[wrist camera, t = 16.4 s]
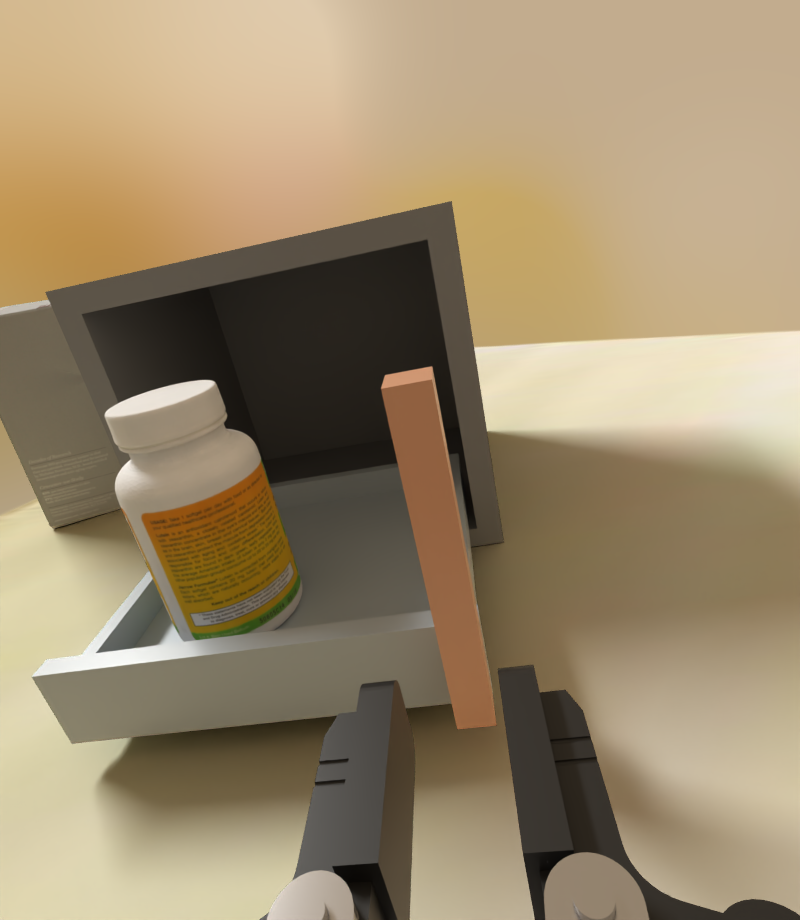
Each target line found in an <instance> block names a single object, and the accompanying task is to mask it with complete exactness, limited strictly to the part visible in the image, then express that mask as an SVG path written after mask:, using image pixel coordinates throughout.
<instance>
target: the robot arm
mask: <svg viewBox="0 0 800 920" xmlns="http://www.w3.org/2000/svg"><path fill="white" fill-rule="evenodd" d="M498 675H499V683H500V690H501V697H502V704H503V712H504V719H505V726H506V733H507V741H508V748H509V755H510V763H511V770H512V777H513V784H514V792H515V799H516V806H517V813H518V821H519V828H520V835H521V843H522V850H523V856H524V862H525V867H526V872H527V878H528V883H529V889H530V894H531V900H532V905H533V911H534V916H535V920H800V915H798V914H797V913H795V912H794V911H792V910H790V909H788V908H786V907H784V906H782V905H779V904H776V903H774V902H770V901H765V900H756V899H751V900H743V901H740V902H737V903H735V904H733V905H732V906H730V907H729V908H728V909H727V910H726V911H725V912H724V913H720V912H717V911H714V910H710V909H707V908H703V907H700V906H697V905H693V904H690V903H686V902H683V901H680V900H677V899H675V898H672V897H670V896H668V895H666V894H664V893H662V892H661V891H659V890H658V889H656V888H655V887H653V886H652V885H651V884H650V883H649V882H647V881H646V880H645V879H644V878H643V877H642V876H641V875H640V874H639V872H638V871H637V870H636V869H635V867H634V866H633V865H632V863H631V862H630V860H629V858H628V856H627V854H626V852H625V850H624V847H623V844H622V841H621V838H620V835H619V831H618V828H617V824H616V821H615V818H614V814H613V811H612V808H611V804H610V801H609V798H608V794H607V791H606V787H605V784H604V781H603V777H602V774H601V771H600V767H599V764H598V762H597V757H596V754H595V750H594V747H593V744H592V741H591V738H590V733H589V730H588V727H587V723H586V720H585V717H584V713H583V710H582V709H581V708H580V707H579V706H578V704H577V703H576V702H575V701H574V700H573V698H572V697H571V696H570V695H569V694H568V692H567V691H566V690H559V691H550V692H541V693H539V688H538V684H537V679H536V674H535V670H534V666H533V665H527V666H518V667H509V668H500V669H498ZM319 762H320V765H319V766H318V769H317V774H316V779H315V787H314V788H313V793H312V798H311V803H310V807H309V812H308V817H307V822H306V826H305V831H304V836H303V841H302V845H301V850H300V855H299V860H298V864H297V868H296V872H295V875H294V878H293V880H292V881H291V882H290V883H289V884H288V885H287V886H286V887H285V888H284V889H283V890H282V891H281V892H280V894H279V895H278V897H277V898H276V899H275V901H274V903H273V905H272V907H271V909H270V911H269V913H268V914H266V915H265V916H264V917H262V918H261V919H260V920H410V893H411V865H412V837H413V809H414V781H415V750H414V741H413V735H412V730H411V726H410V723H409V719H408V715H407V712H406V708H405V704H404V700H403V697H402V693H401V689H400V686H399V683H398V681H397V680H392V681H383V682H374V683H365V684H362V685H361V687H360V691H359V697H358V704H357V710H356V712H349V713H340V714H338V716H337V717H336V719H335V720H334V722H333V724H332V725H331V727H330V728H329V730H328V731H327V733H326V735H325V736H324V741H323V746H322V750H321V755H320V760H319Z"/></svg>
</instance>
